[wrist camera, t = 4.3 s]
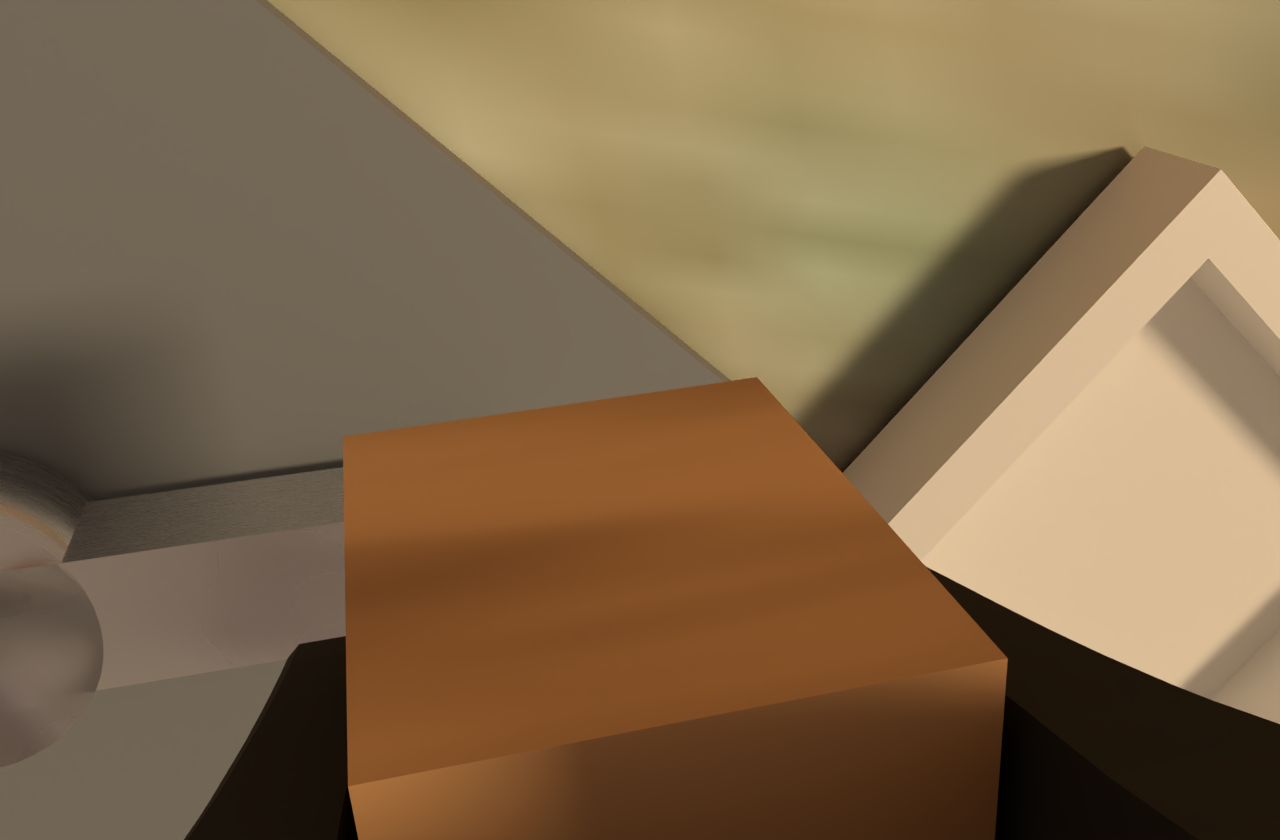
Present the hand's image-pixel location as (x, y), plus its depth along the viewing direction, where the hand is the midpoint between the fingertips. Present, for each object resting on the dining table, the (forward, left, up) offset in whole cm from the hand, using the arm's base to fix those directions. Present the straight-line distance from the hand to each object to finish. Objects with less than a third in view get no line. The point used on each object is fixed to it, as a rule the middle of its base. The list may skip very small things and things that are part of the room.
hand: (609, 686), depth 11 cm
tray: (+4, -12, -9) cm, 16 cm away
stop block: (0, 0, -2) cm, 2 cm away
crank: (-5, +2, -8) cm, 10 cm away
